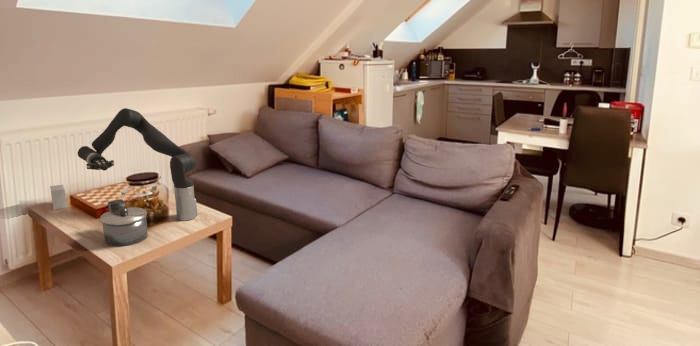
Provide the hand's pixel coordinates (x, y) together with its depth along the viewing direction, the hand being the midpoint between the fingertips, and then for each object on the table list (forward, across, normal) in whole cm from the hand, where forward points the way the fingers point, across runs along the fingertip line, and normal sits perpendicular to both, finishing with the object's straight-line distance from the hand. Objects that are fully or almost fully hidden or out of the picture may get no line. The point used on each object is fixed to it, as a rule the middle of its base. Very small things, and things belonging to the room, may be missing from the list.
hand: (105, 168), depth 224 cm
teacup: (-21, +18, +28) cm, 39 cm away
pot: (+25, 0, +28) cm, 37 cm away
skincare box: (-41, -16, +28) cm, 52 cm away
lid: (+22, 0, +18) cm, 28 cm away
